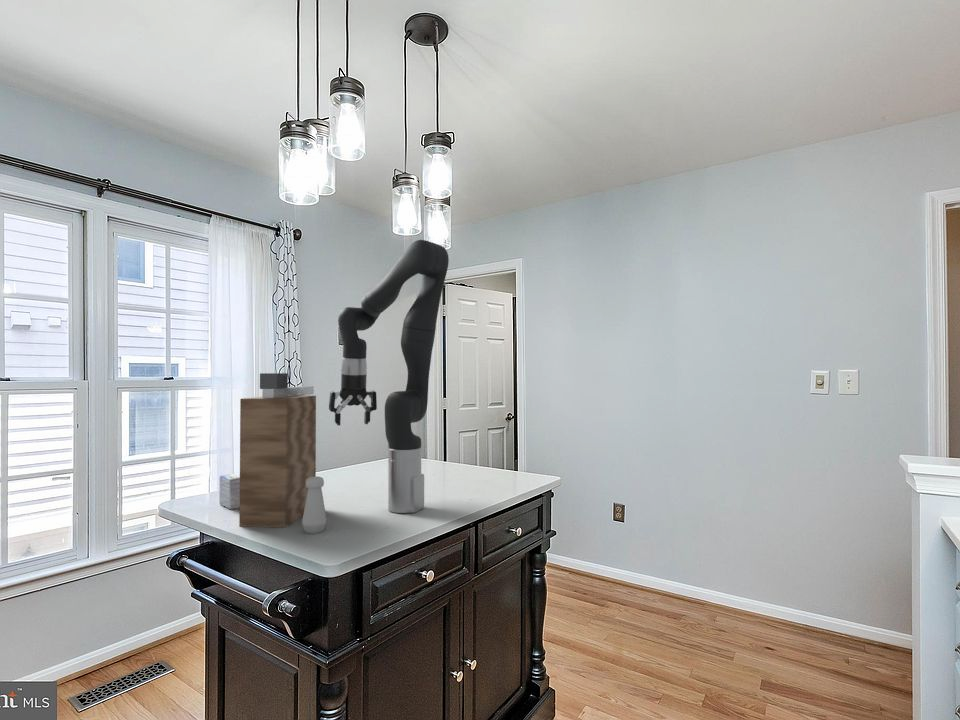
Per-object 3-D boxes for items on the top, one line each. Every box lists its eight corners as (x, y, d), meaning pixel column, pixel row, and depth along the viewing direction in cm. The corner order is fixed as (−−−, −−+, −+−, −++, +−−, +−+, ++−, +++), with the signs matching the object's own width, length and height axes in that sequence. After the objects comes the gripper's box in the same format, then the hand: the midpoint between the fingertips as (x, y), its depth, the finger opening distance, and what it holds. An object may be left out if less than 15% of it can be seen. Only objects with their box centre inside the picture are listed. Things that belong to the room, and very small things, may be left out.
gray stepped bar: (301, 394, 155) (301, 373, 155) (315, 394, 154) (316, 373, 154) (259, 398, 131) (259, 373, 131) (276, 398, 130) (276, 373, 131)
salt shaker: (312, 536, 120) (312, 480, 120) (296, 532, 123) (296, 478, 123) (331, 529, 125) (332, 476, 125) (316, 526, 128) (316, 474, 128)
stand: (275, 507, 146) (275, 395, 147) (315, 508, 145) (315, 395, 146) (239, 526, 128) (240, 398, 129) (284, 527, 127) (285, 398, 128)
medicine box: (245, 506, 147) (245, 476, 147) (229, 510, 143) (229, 479, 143) (234, 502, 152) (234, 473, 152) (218, 505, 149) (219, 475, 149)
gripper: (332, 374, 150) (331, 428, 151) (380, 374, 156) (378, 425, 158) (328, 371, 157) (326, 423, 158) (373, 371, 163) (372, 420, 164)
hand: (352, 424), depth 158 cm, fingers open, 8 cm apart
